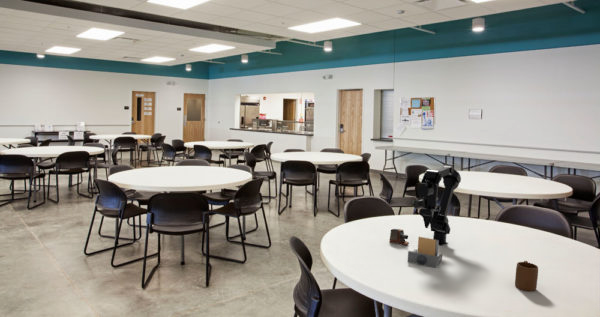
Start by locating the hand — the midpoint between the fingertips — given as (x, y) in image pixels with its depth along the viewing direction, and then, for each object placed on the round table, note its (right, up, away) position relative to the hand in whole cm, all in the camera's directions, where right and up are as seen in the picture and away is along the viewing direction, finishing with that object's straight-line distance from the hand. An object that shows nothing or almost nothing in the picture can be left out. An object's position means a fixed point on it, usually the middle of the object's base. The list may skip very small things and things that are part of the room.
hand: (428, 226), depth 204 cm
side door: (-4, -13, -11) cm, 17 cm away
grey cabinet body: (-7, -14, -16) cm, 22 cm away
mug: (+26, -18, -40) cm, 51 cm away
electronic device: (-13, -11, +10) cm, 19 cm away
